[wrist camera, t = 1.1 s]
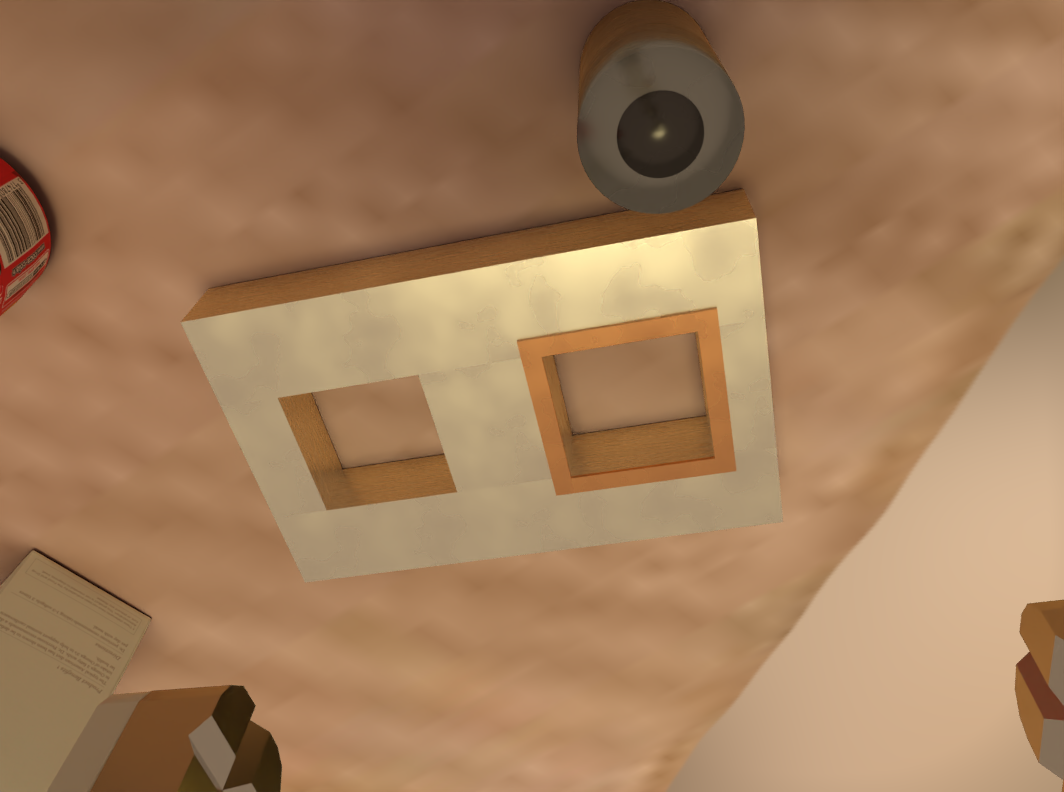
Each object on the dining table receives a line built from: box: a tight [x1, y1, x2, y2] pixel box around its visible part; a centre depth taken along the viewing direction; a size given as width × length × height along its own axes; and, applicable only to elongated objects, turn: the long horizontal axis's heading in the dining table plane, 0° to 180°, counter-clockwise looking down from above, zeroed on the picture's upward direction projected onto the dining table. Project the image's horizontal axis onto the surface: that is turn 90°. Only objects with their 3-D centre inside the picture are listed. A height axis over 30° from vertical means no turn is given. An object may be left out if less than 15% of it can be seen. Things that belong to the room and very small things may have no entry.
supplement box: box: [0, 550, 151, 792], centre depth 43 cm, size 7×7×13 cm
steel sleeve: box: [577, 0, 745, 214], centre depth 28 cm, size 5×5×8 cm
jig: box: [181, 189, 783, 582], centre depth 37 cm, size 14×22×3 cm, turn 102°
